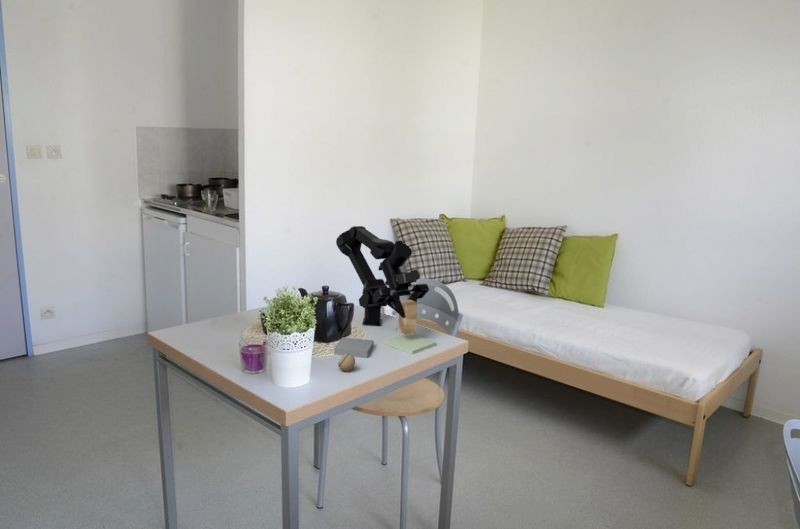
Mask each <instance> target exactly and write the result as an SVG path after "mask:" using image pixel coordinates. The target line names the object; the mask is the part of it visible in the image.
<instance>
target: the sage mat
mask: <svg viewBox="0 0 800 529" xmlns="http://www.w3.org/2000/svg"><path fill="white" fill-rule="evenodd" d="M382 342H383V343H382V344H383V345H385V346H388V347H392V348H393V347H394V348H393V349H396V350H400V351H402V352H405V353H408V354H411V355H414V354H417V353H419V351H420V352H422V351H425V350H427V348H428V349H429V348H433V347H436V346H437V342H436V341H433V340H430V339H427V338H425V337H422V336H417V335H415V334H406V335H405V334H403V333H402V334H400V335H397V336H394V337H391V338H387V339H384V340H383V341H382ZM435 345H436V346H435ZM432 346H433V347H432ZM424 349H425V350H424Z"/></svg>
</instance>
